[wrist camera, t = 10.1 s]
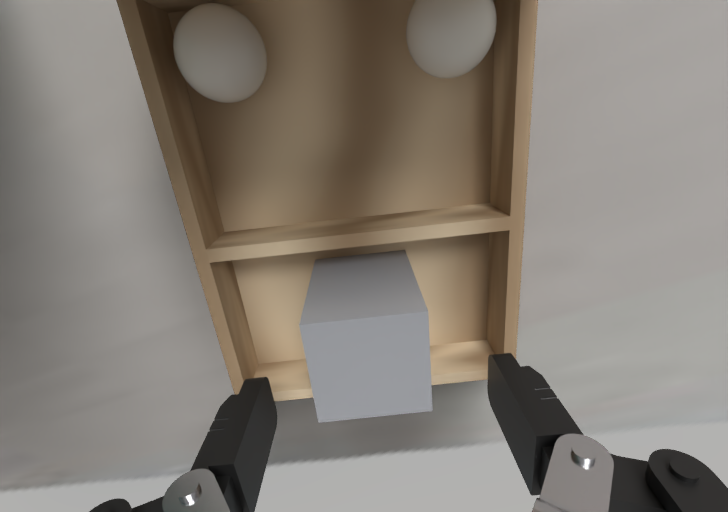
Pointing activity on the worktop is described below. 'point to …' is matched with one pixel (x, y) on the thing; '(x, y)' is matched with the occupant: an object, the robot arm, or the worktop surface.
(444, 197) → the divided box
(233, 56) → the pebble
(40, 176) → the worktop surface
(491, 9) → the pebble
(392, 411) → the gray rectangular block
